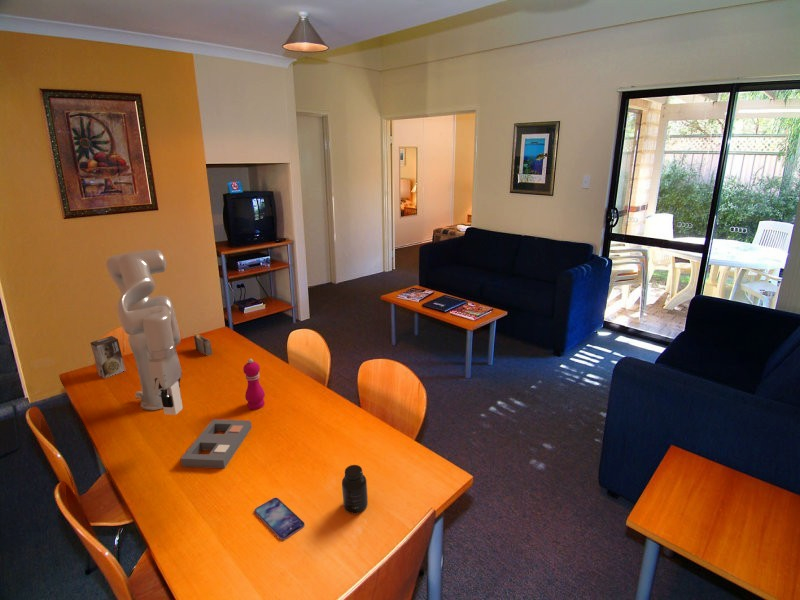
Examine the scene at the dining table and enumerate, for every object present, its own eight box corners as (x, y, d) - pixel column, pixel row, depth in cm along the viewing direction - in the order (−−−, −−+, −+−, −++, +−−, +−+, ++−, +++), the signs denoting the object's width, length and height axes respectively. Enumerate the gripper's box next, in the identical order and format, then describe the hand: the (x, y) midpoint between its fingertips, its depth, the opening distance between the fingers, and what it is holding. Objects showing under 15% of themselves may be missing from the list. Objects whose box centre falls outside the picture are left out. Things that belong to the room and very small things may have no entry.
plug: (164, 414, 150) (158, 381, 146) (171, 407, 154) (165, 375, 150) (176, 414, 149) (170, 381, 146) (182, 408, 153) (177, 375, 149)
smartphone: (276, 496, 133) (306, 524, 123) (276, 498, 133) (306, 527, 123) (252, 509, 128) (282, 540, 118) (253, 512, 128) (282, 542, 118)
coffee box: (119, 367, 214) (111, 335, 209) (126, 371, 210) (118, 338, 205) (98, 375, 207) (89, 342, 202) (104, 379, 203) (96, 345, 198)
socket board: (182, 466, 147) (180, 457, 145) (214, 426, 167) (212, 418, 166) (224, 468, 145) (223, 459, 144) (251, 427, 166) (250, 419, 165)
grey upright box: (195, 350, 231) (192, 332, 228) (201, 348, 233) (198, 331, 230) (206, 357, 224) (203, 338, 221) (212, 355, 226) (209, 336, 223)
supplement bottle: (343, 497, 133) (341, 462, 129) (367, 495, 133) (366, 461, 129) (343, 515, 126) (340, 479, 122) (368, 513, 127) (366, 477, 123)
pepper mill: (268, 400, 184) (263, 355, 177) (261, 410, 177) (255, 363, 171) (251, 400, 184) (245, 354, 178) (243, 409, 178) (237, 363, 171)
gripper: (166, 340, 153) (176, 389, 159) (133, 363, 137) (145, 416, 143) (188, 341, 152) (196, 390, 158) (157, 364, 136) (168, 417, 142)
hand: (172, 402), depth 150 cm, fingers closed on plug, 4 cm apart
